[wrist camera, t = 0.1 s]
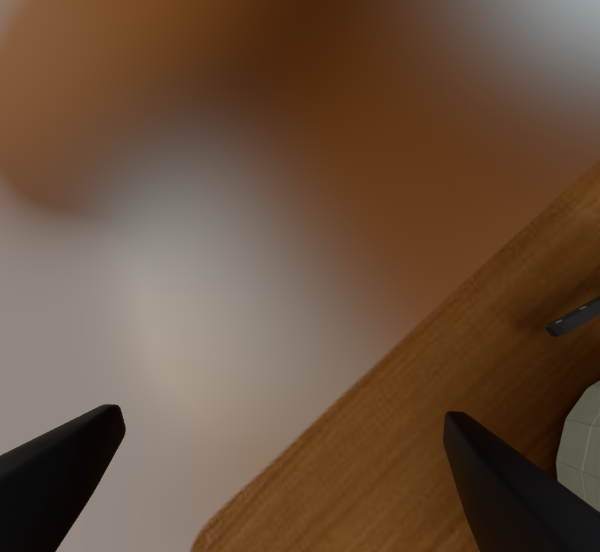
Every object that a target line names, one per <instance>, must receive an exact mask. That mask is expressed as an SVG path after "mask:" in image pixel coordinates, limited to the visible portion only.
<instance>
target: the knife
mask: <svg viewBox="0 0 600 552" xmlns="http://www.w3.org/2000/svg"><path fill="white" fill-rule="evenodd" d="M599 314H600V296H599V297H597V298H595V299H593V300H591V301H590V302H588V303H586V304H584V305H582V306H581V307H579V308H577V309H575V310H574V311H572V312H570V313H569V314H567V315H565V316H564V317H562V318H560V319H558V320H555V321H553V322H551V323H549V324H547V325H546V326H545V328H546V329H547V331H548V332H549V333H550V334H551V335H552V336H553V337H557V336H560V335H563V334H565V333H567V332H570V331H572V330H573V329H575V328H577V327H579V326H580V325H582V324H584V323H586V322H588V321H589V320H591V319H593V318H594V317H596V316H598V315H599Z"/></svg>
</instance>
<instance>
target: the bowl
mask: <svg viewBox="0 0 600 552" xmlns="http://www.w3.org/2000/svg"><path fill="white" fill-rule="evenodd" d="M556 460H557V461H556V468H557V478H558V482H560V483H561V484H562V485H564V486H565V487H566V488H568V489H569V490H570V491H572V492H573V493H574V494H576V495H577V496H578V497H580V498H581V499H583V500H584V501H585V502H587V503H588V504H589V505H591V506H592V507H593V508H595V509H596V510H597V511H599V512H600V381H598V382H596V383H595V384H593V385H591V386H590V387H589V388H587V389H586V390H585V392H584V393H583V395H582V396H581V397H580V399H579V400H578V402H577V403H576V405H575V406H574V407H573V409H572V410H571V412H570V413H569V414H568V416H567V417H566V420H565V423H564V428H563V432H562V436H561V441H560V445H559V449H558V454H557V458H556Z"/></svg>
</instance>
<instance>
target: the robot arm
mask: <svg viewBox="0 0 600 552" xmlns="http://www.w3.org/2000/svg"><path fill="white" fill-rule="evenodd" d="M125 429H126V427H125V423H124V419H123V416H122V412H121V409H120V407H119V406H118V405H111V404H109V405H108V404H106V405H102V406H99V407H98V408H95V409H93V410H91V411H89V412H87V413H85V414H83V415H81V416H80V417H77V418H75V419H73V420H71V421H69V422H67V423H65V424H63V425H61V426H59V427H57V428H55V429H53V430H51V431H49V432H47V433H45V434H43V435H41V436H39V437H37V438H35V439H33V440H31V441H29V442H27V443H25V444H23V445H21V446H19V447H17V448H15V449H13V450H11V451H9V452H7V453H5V454H3V455H1V456H0V552H55V551H56V550H57V548H58V547H59V545H60V544H61V542H62V541H63V539H64V538H65V536H66V534H67V533H68V531H69V530H70V528H71V527H72V525H73V524H74V522H75V521H76V519H77V518H78V516H79V515H80V513H81V511H82V510H83V508H84V506H85V505H86V504H87V502H88V500H89V499H90V497H91V496H92V494H93V492H94V490H95V489H96V487H97V485H98V484H99V482H100V480H101V478H102V476H103V474H104V473H105V471H106V469H107V467H108V465H109V463H110V462H111V460H112V458H113V456H114V454H115V452H116V451H117V449H118V447H119V445H120V443H121V442H122V440H123V438H124V435H125V431H126V430H125ZM443 442H444V447H445V451H446V454H447V457H448V460H449V464H450V467H451V470H452V473H453V477H454V480H455V483H456V486H457V490H458V493H459V496H460V499H461V503H462V506H463V509H464V512H465V515H466V518H467V520H468V523H469V525H470V528H471V531H472V533H473V535H474V538H475V540H476V543H477V545H478V547H479V550H480V552H600V512H599V511H597V510H596V509H595V508H593V507H592V506H591V505H589V504H588V503H587V502H585V501H584V500H583V499H581V498H580V497H578V496H577V495H576V494H574V493H573V492H572V491H570V490H569V489H568V488H566V487H565V486H564V485H562V484H561V483H560V482H558V481H557V480H555V479H554V478H553V477H551V476H550V475H549V474H547V473H546V472H545V471H543V470H542V469H541V468H539V467H538V466H537V465H535V464H534V463H532V462H531V461H530V460H528V459H527V458H526V457H524V456H523V455H522V454H520V453H519V452H518V451H516V450H515V449H514V448H512V447H511V446H509V445H508V444H507V443H505V442H504V441H503V440H501V439H500V438H499V437H497V436H496V435H495V434H493V433H492V432H491V431H489V430H488V429H486V428H485V427H484V426H482V425H481V424H480V423H478V422H477V421H476V420H474V419H473V418H472V417H470V416H469V415H468V414H466V413H464V412H456V411H449V412H447V413H446V415H445V423H444V435H443Z"/></svg>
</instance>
